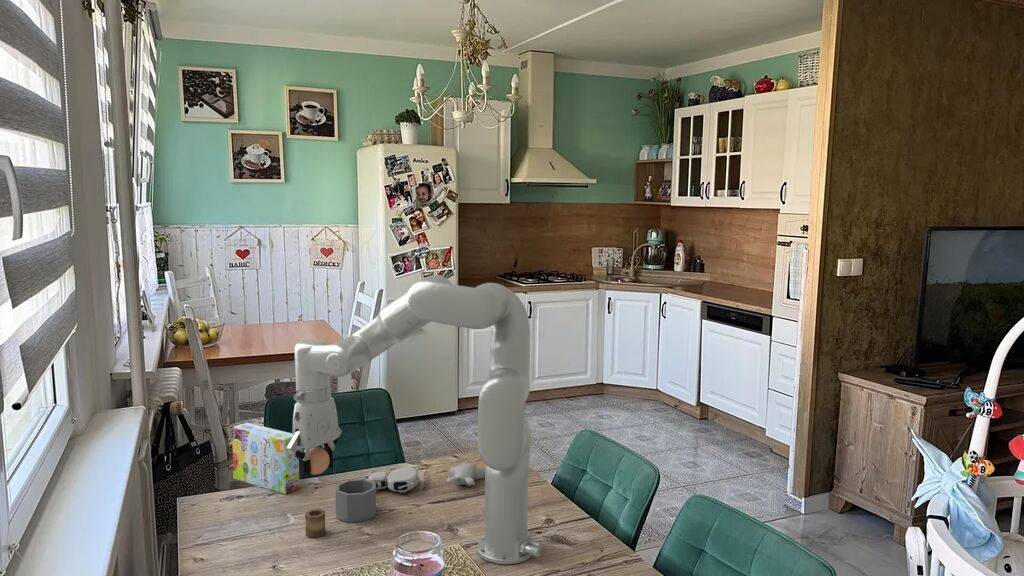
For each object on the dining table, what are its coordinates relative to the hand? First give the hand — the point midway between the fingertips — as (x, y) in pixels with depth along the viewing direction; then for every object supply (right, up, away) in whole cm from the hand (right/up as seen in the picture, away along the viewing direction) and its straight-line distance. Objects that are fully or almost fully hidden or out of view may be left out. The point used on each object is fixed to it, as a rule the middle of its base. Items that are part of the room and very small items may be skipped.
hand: (316, 470), depth 163 cm
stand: (-1, -15, +2) cm, 15 cm away
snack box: (-22, -12, +31) cm, 40 cm away
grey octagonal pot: (+6, -14, +13) cm, 20 cm away
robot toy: (+12, -13, +29) cm, 34 cm away
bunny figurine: (+32, -12, +33) cm, 48 cm away
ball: (0, +2, 0) cm, 2 cm away
